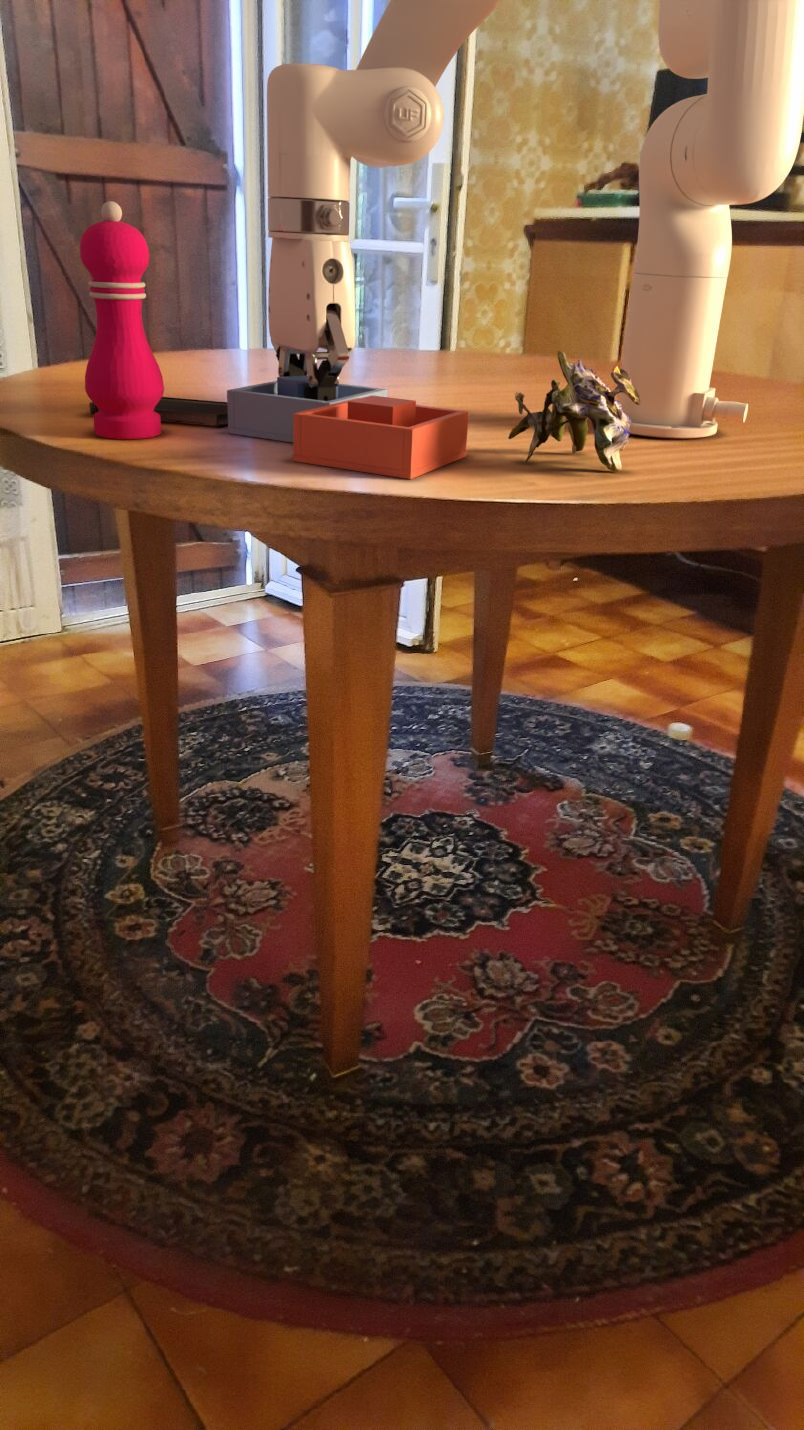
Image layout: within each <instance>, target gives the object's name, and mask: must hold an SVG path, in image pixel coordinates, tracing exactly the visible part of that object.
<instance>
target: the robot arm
mask: <svg viewBox="0 0 804 1430" xmlns="http://www.w3.org/2000/svg"><path fill="white" fill-rule="evenodd" d="M501 1H502V0H390V1H389V2H388V4H387V5H386V7H385V10H384V11H383V13H382V15H381V17H380V19H379V21H378V23H377V25H376V27H375V29H374V31H373V33H372V35H371V37H370V39H369V41H368V43H367V45H366V47H365V49H364V52H363V54H362V55H361V58H360V60H359V62H358V64H357V66H356V69H340V68H338V67H335V66H330V65H326V64H319V63H309V62H308V63H307V62H305V63H304V62H292V63H283V64H280V65H277V66H275V67H274V68H273V69H272V70H271V71H270V73H269V74H268V78H267V82H266V85H267V86H266V147H267V149H266V152H267V153H266V154H267V156H266V157H267V197H268V198H267V237H268V238H271V246H270V257H269V259H270V260H269V273H268V295H267V296H268V298H267V299H268V300H267V303H268V306H267V307H268V308H267V311H268V313H267V314H268V315H267V316H268V332H269V337H270V338H269V339H270V342H271V345H272V347H273V349H274V351H275V353H276V354H275V357H276V359H277V361H278V367H277V369H278V370H277V374H278V377H286V376H306V375H308V383H309V386H310V387H305V388H304V398H305V399H313V400H321V401H331V400H335V399H336V387H337V386H338V385H339V384H340V375H341V373H342V370H343V368H344V366H345V365H346V364H347V363H348V362H349V360H350V354H351V352H352V351H354V349H355V347H356V346H355V345H356V291H355V289H356V288H355V275H354V274H355V273H354V264H353V263H354V262H353V254H352V250H351V242H350V210H351V209H350V207H351V203H350V202H351V165H352V164H351V163H352V162H351V160H352V158H353V159H354V160H356V161H357V162H358V163H359V164H361V165H363V166H366V167H369V168H377V169H378V168H379V169H380V168H389V167H398V166H404V165H406V166H407V165H409V164H412V163H415V162H417V161H419V160H421V159H422V158H424V157H425V156H426V155H428V154H429V153H430V151H432V149H433V148H434V147H435V145H436V144H437V142H438V141H439V138H440V137H441V133H442V131H443V127H444V120H445V111H444V104H443V101H442V98H441V95H440V93H439V91H438V89H437V88H436V87H437V86H438V83H439V82H440V79H441V78H442V76H443V74H444V73H445V71H446V69H447V68H448V65H449V64H450V63H451V61H452V59H454V56H455V55H456V54H457V52H458V51H459V49H460V48H461V46H462V45H463V44H464V43H465V41H466V40H467V39H468V38H469V37H470V36H471V34H472V33H473V32H475V30H476V29H477V28H478V27H479V26H481V25H482V23H483V22H484V21H485V20H486V19H487V18H489V16H490V15H491V14H492V13H493V12H494V11H495V9H497V7H498V5H499V4H500V3H501ZM657 33H658V35H657V36H658V37H657V38H658V48H659V52H660V55H661V58H662V61H663V62H664V64H665V66H666V67H667V68H668V70H669V71H670V72H672V73H673V74H674V75H676V76H678V77H681V78H684V79H689V80H690V79H694V80H698V79H699V80H700V79H707V92H706V93H705V94H700V95H694V96H691V97H687V98H684V99H681V100H679V101H677V102H675V103H674V104H671V106H669V107H667V108H666V109H665V110H663V111H662V112H661V113H660V114H659V115H658V116H657V118H656V119H655V120H654V121H653V123H652V124H651V125H650V127H649V129H648V131H647V133H646V135H645V137H644V139H643V143H642V146H641V151H640V156H639V164H638V165H639V166H638V190H639V191H638V193H639V194H638V195H639V196H638V197H639V216H638V217H639V218H638V231H637V232H638V233H637V244H636V250H635V251H636V252H635V261H634V268H633V273H632V281H631V290H630V296H629V305H628V312H627V320H626V327H625V335H624V344H623V351H622V359H621V365H620V366H621V367H620V369H624V370H625V371H626V372H627V373H628V377H629V378H630V379H631V382H632V384H633V386H634V387H635V389H636V390H637V392H638V394H639V397H640V401H641V404H640V405H637V404H635V403H634V402H633V401H632V400H631V399H630V398H629V396H628V395H627V394H625V393H618V394H617V396H616V397H617V398H616V400H617V401H620V404H621V405H622V411H623V413H624V414H626V415H628V416H629V420H631V425H630V426H629V430H630V433H629V434H630V435H635V436H640V437H641V436H642V437H651V438H662V439H663V438H664V439H699V438H707V437H711V436H713V435H715V434H717V431H718V422H717V420H716V419H719V420H726V421H729V422H737V423H745V421H746V420H747V416H748V411H749V403H746V402H739V401H731V400H728V401H726V400H719V397H716V396H715V395H716V387H710V385H711V384H710V383H711V377H712V373H713V366H714V360H715V354H716V347H717V342H718V335H719V330H720V323H721V317H722V311H723V305H724V299H725V294H726V287H727V281H728V278H729V272H730V265H731V258H732V249H733V248H732V246H733V233H732V220H731V212H730V211H731V210H730V206H739V205H740V206H741V205H749V204H754V203H756V202H759V201H761V200H763V199H765V198H767V197H768V196H770V195H772V193H773V194H774V192H775V191H776V190H777V189H778V188H779V187H780V186H781V185H782V184H783V183H784V181H785V180H786V178H787V177H788V176H789V174H790V172H791V170H792V168H793V166H794V163H795V161H796V158H797V155H798V151H799V148H800V147H799V146H800V144H801V137H802V132H803V123H804V0H659V8H658V30H657ZM319 349H323V350H326V351H318V350H319ZM298 355H299V356H298ZM318 361H321V362H320V364H319V366H318Z"/></svg>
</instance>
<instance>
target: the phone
mask: <svg viewBox="0 0 804 1430" xmlns="http://www.w3.org/2000/svg"><path fill="white" fill-rule="evenodd" d="M97 412H99V409H98V407H97V406H96V405H95V404H94V403H93V402H92V401H89V413H90V415H91V416H93V415H94V414H95V413H97ZM154 412H157V413H158V414H159V415H160V416H161V422H166V423H179V424H190V425H200V426H201V425H202V426H212V427H213V426H214V427H215V426H216V427H219V426H228V407H227V401H218V400H207V399H195V398H183V397H171V396H170V397H169V396H162V398H161V399H160V401H159V402H158V403H157V405H156V406H155V408H154Z"/></svg>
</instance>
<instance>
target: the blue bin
mask: <svg viewBox="0 0 804 1430" xmlns="http://www.w3.org/2000/svg"><path fill="white" fill-rule="evenodd" d="M372 395H373V396H381V397H389V396H388V395H389V389H388V388H382V387H381V388H380V387H372V386H364V385H356V384H355V385H354V384H348V383H347V384H346V383H339V385H338V399H335V400H331V401H321V400H313V399H305V398H297V397H289V396H281V395H277V380H273V381H268V382H264V383H263V382H262V383H258V384H252V385H247V386H241V387H235V388H231V389H227V390H226V402H227V407H228V424H227V433H228V434H230V435H231V434H232V435H237V436H245V437H252V438H259V439H266V440H271V441H272V440H273V441H278V442H279V441H280V442H285V443H292V444H293V414H294V413H298V412H302V411H307V410H311V409H315V408H319V407H323V406H327V405H331V404H335V403H339V402H344V401H348V400H352V399H356V398H364V397H368V396H372Z"/></svg>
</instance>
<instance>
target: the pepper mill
mask: <svg viewBox="0 0 804 1430" xmlns="http://www.w3.org/2000/svg"><path fill="white" fill-rule="evenodd" d="M100 213H101V217H102V218H103V221H99V222H96V223H92V224H91V225H90V226H88V227H87V228H86V229H85V231H84V232H83V233H82V235H81V238H80V242H79V255H80V257H79V258H80V261H81V263H82V265H83V267H84V268H85V270H87V272H88V273H89V274H90V276H91V280H89V281H88V283H87V284H88V286H89V293H88V295H89V297H91V298H93V299H94V305H95V311H96V332H95V337H94V338H95V339H94V342H93V346H92V349H91V352H90V355H89V358H88V361H87V363H86V368H85V373H84V390H85V393H86V395H87V397H88V398H89V400H90V402H93V403H94V404H95V405H96V406H97V407H98V409H99V412H97V413H95V414H94V415H92V418H93V419H92V420H93V431H94V433H95V435H96V436H98V437H101V438H105V439H113V440H144V439H150V438H155V437H158V436H160V434H162V421H161V416H160V415H159V414H158V413H157V412H154V408H155V406H156V405H157V403H158V402H159V401H160V399H161V398H162V397H164V396H163V395H164V394H165V384H164V378H163V374H162V371H161V368H160V365H159V364H158V361H157V359H156V357H155V355H154V353H153V351H152V349H151V346H150V344H149V342H148V339H147V336H146V333H145V329H144V322H143V321H144V320H143V313H142V310H143V309H142V308H143V300H144V299H146V298H147V294H146V293H145V291H146V290H145V287H146V283H145V282H144V281H141V280H142V276H143V274H144V273H145V272H146V271H147V269H148V267H149V264H150V250H149V247H148V243H147V241H146V239H145V237H144V235H143V234H142V232H140V230H138V229H137V228H136V227H134V226H132V225H131V224H129V223H126V222H123V221H121V220H122V217H123V211H122V207H121V206H120V205H119V204H118V203H117V202H115V201H112V200H108V201H106V202H104V203H103V204H102V206H101V209H100Z"/></svg>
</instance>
